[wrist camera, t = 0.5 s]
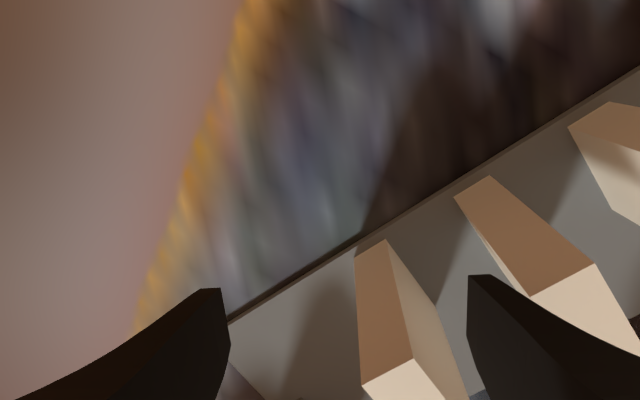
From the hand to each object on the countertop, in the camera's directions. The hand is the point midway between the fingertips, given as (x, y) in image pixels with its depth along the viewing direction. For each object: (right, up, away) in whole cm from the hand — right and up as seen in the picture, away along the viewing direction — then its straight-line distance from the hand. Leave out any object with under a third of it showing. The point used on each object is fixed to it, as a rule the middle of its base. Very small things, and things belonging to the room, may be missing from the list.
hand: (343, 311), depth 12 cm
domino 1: (+3, -1, +10) cm, 11 cm away
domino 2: (+8, +2, +9) cm, 12 cm away
